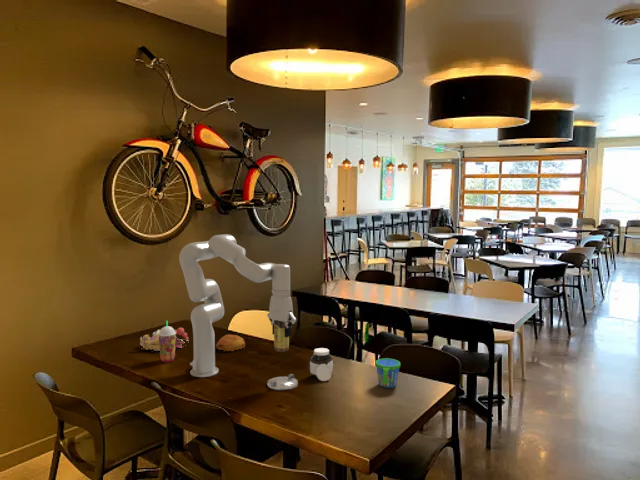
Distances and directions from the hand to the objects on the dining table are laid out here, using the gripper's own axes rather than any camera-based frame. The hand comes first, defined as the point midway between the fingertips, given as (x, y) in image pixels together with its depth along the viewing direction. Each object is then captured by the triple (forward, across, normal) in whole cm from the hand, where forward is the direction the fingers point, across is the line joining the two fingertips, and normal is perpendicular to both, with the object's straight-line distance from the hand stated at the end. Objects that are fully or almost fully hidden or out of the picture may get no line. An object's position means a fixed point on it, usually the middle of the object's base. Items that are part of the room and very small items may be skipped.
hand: (281, 334), depth 202 cm
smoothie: (+22, -66, -11) cm, 70 cm away
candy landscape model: (+22, -89, +2) cm, 92 cm away
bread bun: (+22, -58, +22) cm, 66 cm away
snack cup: (+22, +36, +28) cm, 50 cm away
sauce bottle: (+7, 0, 0) cm, 7 cm away
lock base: (+22, 0, 0) cm, 22 cm away
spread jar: (+22, +8, +18) cm, 30 cm away
